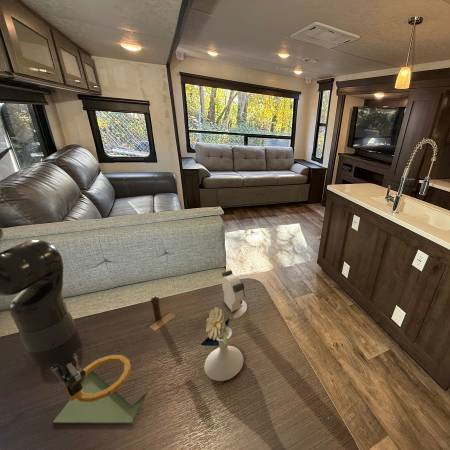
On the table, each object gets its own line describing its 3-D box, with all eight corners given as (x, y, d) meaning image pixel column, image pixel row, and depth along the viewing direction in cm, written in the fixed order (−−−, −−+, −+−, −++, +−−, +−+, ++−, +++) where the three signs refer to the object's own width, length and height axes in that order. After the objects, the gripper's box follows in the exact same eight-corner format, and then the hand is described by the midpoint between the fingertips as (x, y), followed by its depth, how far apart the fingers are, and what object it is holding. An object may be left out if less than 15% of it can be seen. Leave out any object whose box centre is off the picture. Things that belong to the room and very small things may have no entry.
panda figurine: (253, 312, 97) (253, 281, 91) (225, 324, 90) (224, 292, 84) (238, 295, 106) (238, 265, 100) (212, 305, 99) (210, 274, 93)
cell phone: (230, 315, 95) (230, 314, 95) (222, 346, 82) (222, 344, 82) (211, 315, 94) (211, 313, 94) (200, 346, 82) (199, 344, 81)
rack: (140, 324, 87) (135, 299, 83) (161, 310, 94) (157, 286, 89) (155, 334, 84) (150, 308, 80) (176, 319, 91) (172, 294, 86)
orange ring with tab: (59, 389, 59) (49, 367, 56) (114, 351, 69) (108, 331, 66) (84, 415, 55) (75, 393, 52) (140, 370, 65) (135, 350, 62)
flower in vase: (206, 353, 79) (201, 290, 69) (242, 347, 82) (242, 287, 72) (202, 394, 68) (194, 326, 58) (244, 386, 71) (244, 320, 61)
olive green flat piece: (53, 423, 59) (52, 422, 59) (92, 371, 71) (92, 370, 70) (131, 423, 60) (131, 422, 60) (157, 372, 72) (157, 371, 72)
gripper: (10, 333, 49) (39, 389, 56) (42, 365, 44) (69, 423, 51) (58, 310, 56) (78, 363, 62) (91, 336, 50) (109, 391, 57)
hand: (74, 390), depth 57 cm, fingers closed on orange ring with tab, 1 cm apart
